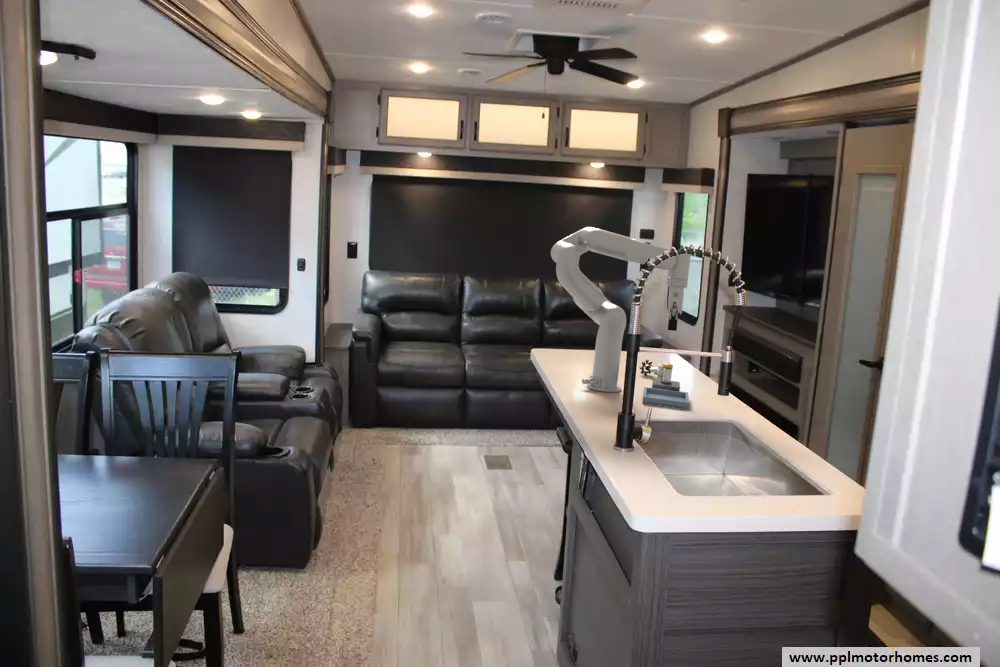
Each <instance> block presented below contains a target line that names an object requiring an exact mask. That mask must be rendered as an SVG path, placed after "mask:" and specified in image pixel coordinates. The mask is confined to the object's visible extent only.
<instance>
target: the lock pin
mask: <svg viewBox="0 0 1000 667" xmlns="http://www.w3.org/2000/svg"><path fill="white" fill-rule="evenodd" d="M663 364H664V373H663V381H662V384H669V385H670V382H671V381H672V374H673V373H672V372H673V369H674V368H673V367H674V365H673V364H670V363H663Z"/></svg>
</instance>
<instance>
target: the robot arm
mask: <svg viewBox="0 0 1000 667" xmlns="http://www.w3.org/2000/svg"><path fill="white" fill-rule="evenodd" d="M668 249H669V248H665V247H661V246H657V245H653V244H649V243H647V242H643V241H641V240H638V239H636V238H633V237H631V236H625V235H622V234H619V233H616V232H611V231H608V230H605V229H601V228H598V227H597V228H596V227H593V226H586V227H584V228H582V229H581V228H580V229H579V230H578V231H576V232H574V233H571V234H570V235H569V236H566V237H564V238H562V239H561V240H558V241H557V242H556V243H554V245H553V246H552V247H551V250H550V257H551V259H552V261H553V262H554V263H556V264H555V265H556V266H555V272H556V278H557V280H558V282H559V284H560V285H561V287H562V288H564V290H566V291H567V293H568V294H569V295H570V296H571V297H572V299H573V302H574V303H575V304H576V306H577V307H579V309H581V310H582V311H583V312H584V314H586V315H587V316H588V317H589V318H590V319H592V321H593V322H594V323H596V324H597V325H599V327H598V330H597V334H596V339H595V340H596V341H595V348H594V355H593V356H594V359H593V367H592V374H591V375H590V376H589V377H588V378H582V379H581V384H583V385H586V386H587V388H589V389H590V390H594V391H597V392H604V393H618V392H620V391H621V390H622V386H620V384H618V382H619V380H618V379H619V373H620V363H621V355H622V347H623V346H622V344H623V340H624V338H623V337H624V332H625V330H626V326H627V315H626V312H625V310H624V309H623V308H622V307H620V306H619V305H617V304H615V303H612V302H611V301H610V300H609V299H608V298H607V297H606V296H605V295H604V293H603V291H602V290H601V289H600V288H599V286H597V285H596V284H595V283H593V282H592V281H591V280H590V279H589V278H588V277H587V276H586V275H585V274H584V273H583V272H582V270H580V266H579V265H580V257H581V255H583V254H584V253H587V252H588V251H590V252H593V253H596V254H600V255H604V256H607V257H612V258H614V259H619V260H623V261H626V262H630V263H631V262H632V263H635V264H640V265H644V264H645V263H646V262H647V261H648V259H649V258H654V257H656V256H658V255H660V254H661V253H662V252H664V251H666V250H668ZM690 263H691V255H689V254H680V255H676V256H672V257H670V258H668V259H666V260H664V261H663V262H661V263H660V264H658V265H657V266H656V267H654V268H655V269H659V270H662V271H667V276H666V284H665V285H666V287H668V288H669V289H668V290H669V291H668V302H667V304H668V306H667V307H668V310H667V311H668V314H669V316H668V321H667V322H668V324H667V330H668V331H675V332H677V330H678V329H677V328H678V320H679V316H678V314H679V315H682V313H683V305H684V296H685V295H684V294H685V289H688V283H689V273H690Z"/></svg>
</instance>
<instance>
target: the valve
mask: <svg viewBox="0 0 1000 667" xmlns="http://www.w3.org/2000/svg"><path fill="white" fill-rule="evenodd" d="M641 364H642V365H641V366H639V370H640V374H641V375H644V376H646V377H647V376H648V374H652V373H653V374H654V375H655V376H657V377H656V379H660V380H663V373H664V364H665V363H659V364H658V367H657V366H656V367H654V366H653V365H652V364H653V362H652V361H650V360H649V359H645V361H641ZM645 370H646V371H645Z"/></svg>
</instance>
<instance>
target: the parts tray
mask: <svg viewBox="0 0 1000 667" xmlns="http://www.w3.org/2000/svg"><path fill="white" fill-rule="evenodd" d="M642 394H643V395H642V403H641V404H643V405H649V406H650V405H651V406H656V405H661V406H660V407H664V406H667V407H666V408H672V407H674V409H679V408H683V409H682V410H687V409H689V408H690V398H689V392H687V391H672V390H664V389H656V388H652V387H648V386H647V387H646V386H643V393H642Z"/></svg>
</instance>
